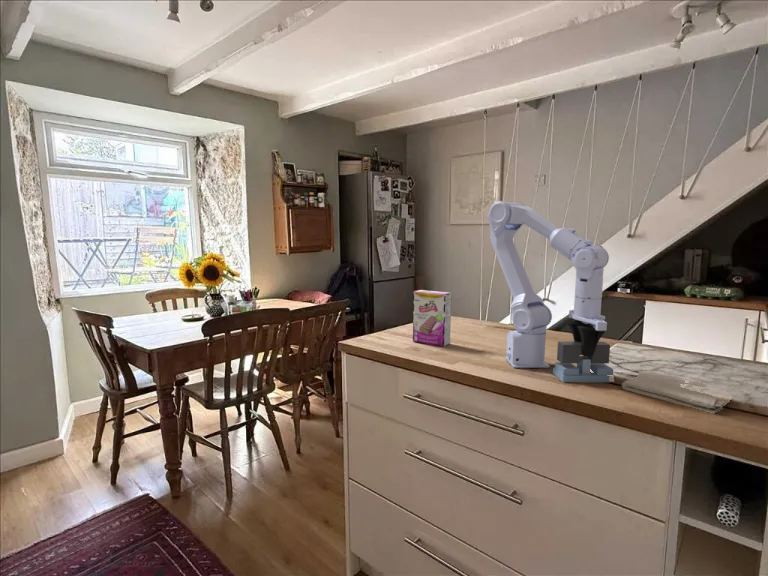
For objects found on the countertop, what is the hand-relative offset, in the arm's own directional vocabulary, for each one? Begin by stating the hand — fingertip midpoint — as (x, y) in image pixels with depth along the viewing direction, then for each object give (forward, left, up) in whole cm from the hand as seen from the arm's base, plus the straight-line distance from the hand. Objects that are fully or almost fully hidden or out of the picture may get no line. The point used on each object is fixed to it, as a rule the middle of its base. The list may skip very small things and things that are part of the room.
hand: (584, 353), depth 100 cm
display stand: (0, 0, -6) cm, 6 cm away
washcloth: (+15, -10, -7) cm, 19 cm away
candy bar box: (-33, +32, -6) cm, 46 cm away
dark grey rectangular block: (0, 0, -2) cm, 2 cm away
